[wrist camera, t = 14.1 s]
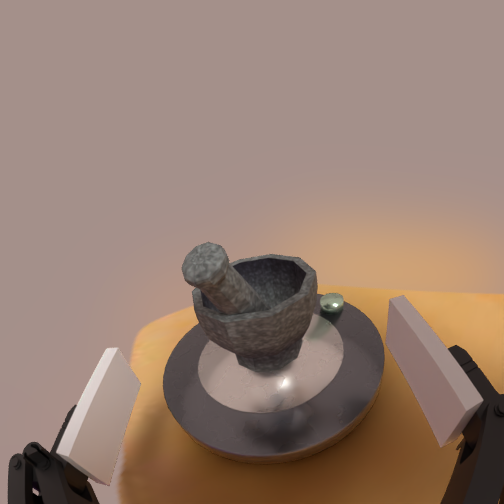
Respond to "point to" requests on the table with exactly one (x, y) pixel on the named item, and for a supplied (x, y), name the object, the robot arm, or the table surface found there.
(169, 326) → the table surface
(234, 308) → the mortar and pestle
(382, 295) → the table surface
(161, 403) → the table surface
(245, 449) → the base
